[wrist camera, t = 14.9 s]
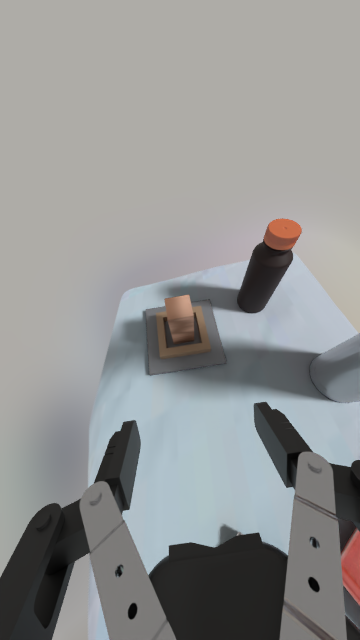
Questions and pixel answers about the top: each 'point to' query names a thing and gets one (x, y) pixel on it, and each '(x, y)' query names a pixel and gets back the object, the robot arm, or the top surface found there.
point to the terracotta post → (180, 318)
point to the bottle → (268, 264)
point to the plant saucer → (352, 565)
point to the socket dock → (187, 354)
